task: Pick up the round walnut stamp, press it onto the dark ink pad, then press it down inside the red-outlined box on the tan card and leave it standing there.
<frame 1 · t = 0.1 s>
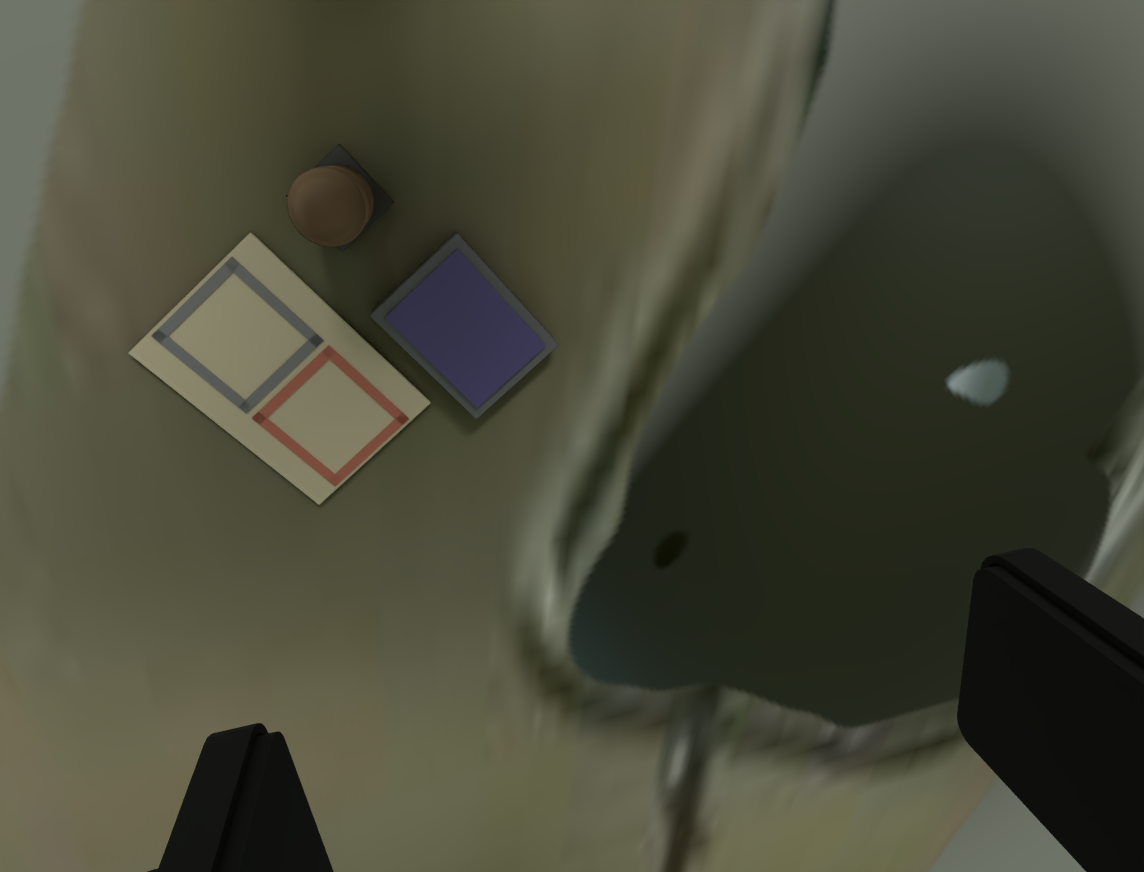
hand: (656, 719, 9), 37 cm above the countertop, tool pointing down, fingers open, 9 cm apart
stamp: (342, 198, 40), on the countertop
ink pad: (466, 326, 44), on the countertop
card sheet: (287, 378, 43), on the countertop
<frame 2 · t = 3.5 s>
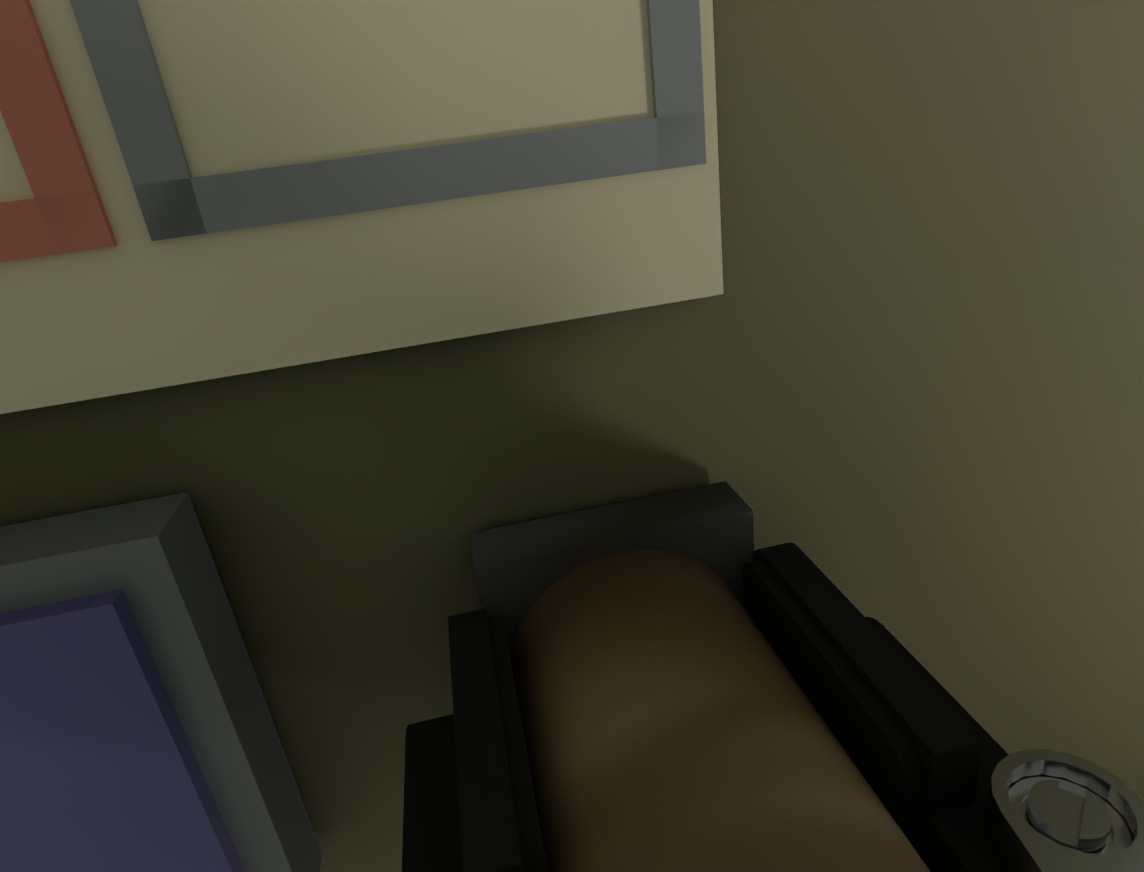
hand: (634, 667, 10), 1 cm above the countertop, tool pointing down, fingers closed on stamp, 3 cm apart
stamp: (613, 614, 12), on the countertop, touching gripper
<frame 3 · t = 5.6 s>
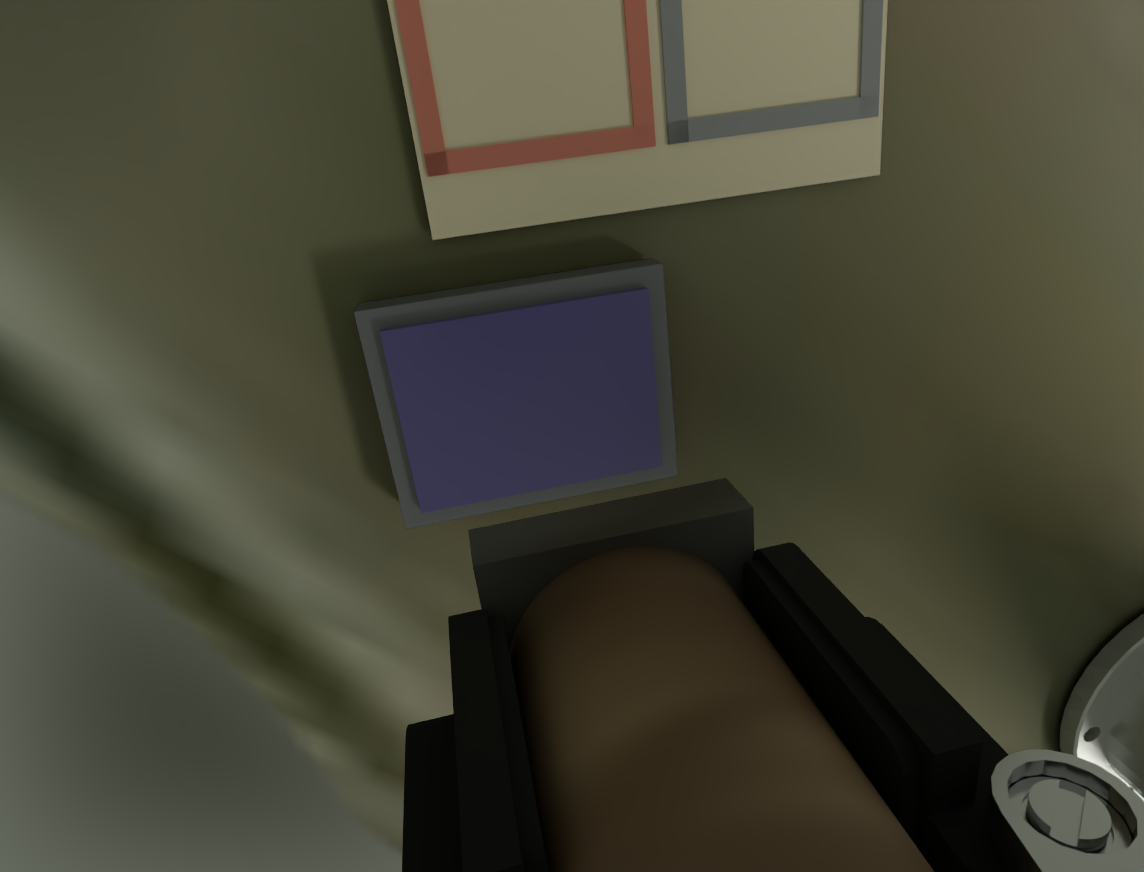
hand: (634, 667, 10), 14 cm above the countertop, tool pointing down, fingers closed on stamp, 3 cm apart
stamp: (613, 611, 12), point 12 cm above the countertop, touching gripper
ink pad: (525, 389, 23), on the countertop
card sheet: (650, 17, 20), on the countertop
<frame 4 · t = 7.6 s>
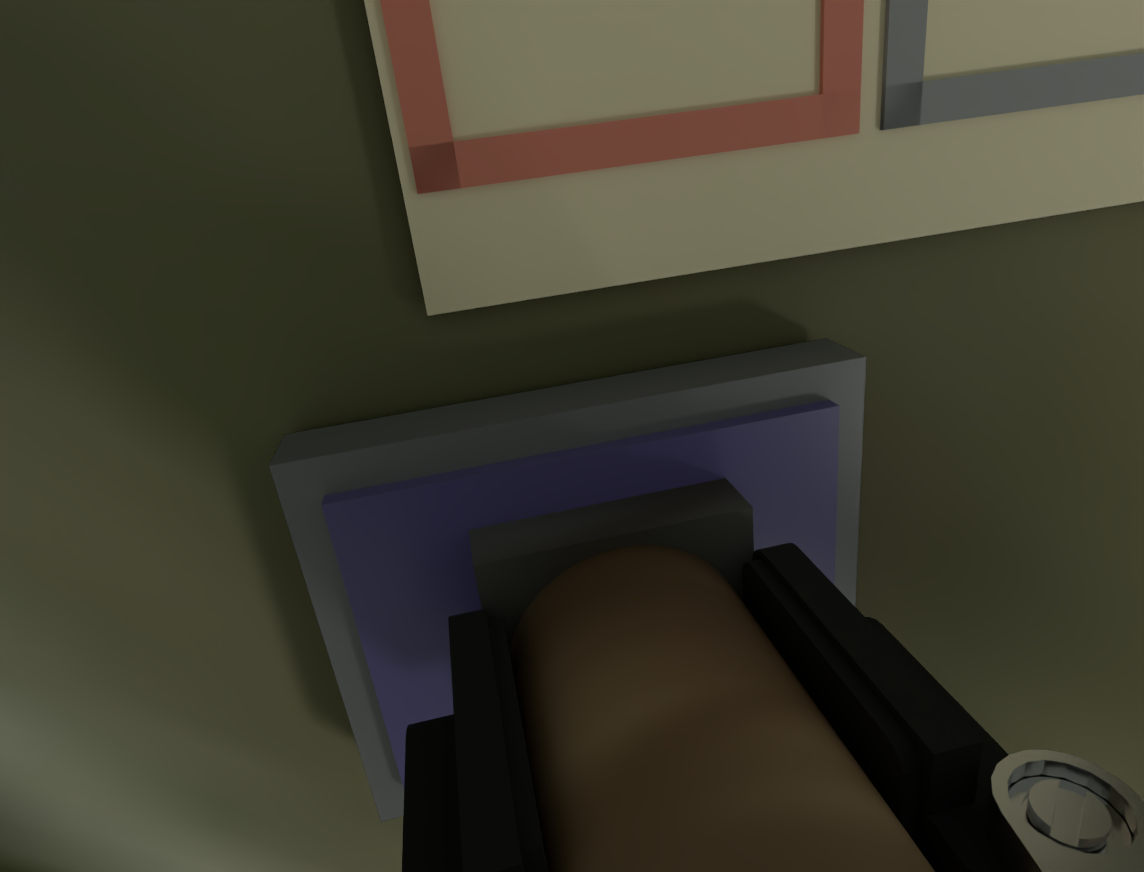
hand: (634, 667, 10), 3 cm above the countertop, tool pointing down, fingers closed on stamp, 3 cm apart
stamp: (613, 611, 12), point 1 cm above the countertop, touching gripper, ink pad
ink pad: (592, 565, 13), on the countertop
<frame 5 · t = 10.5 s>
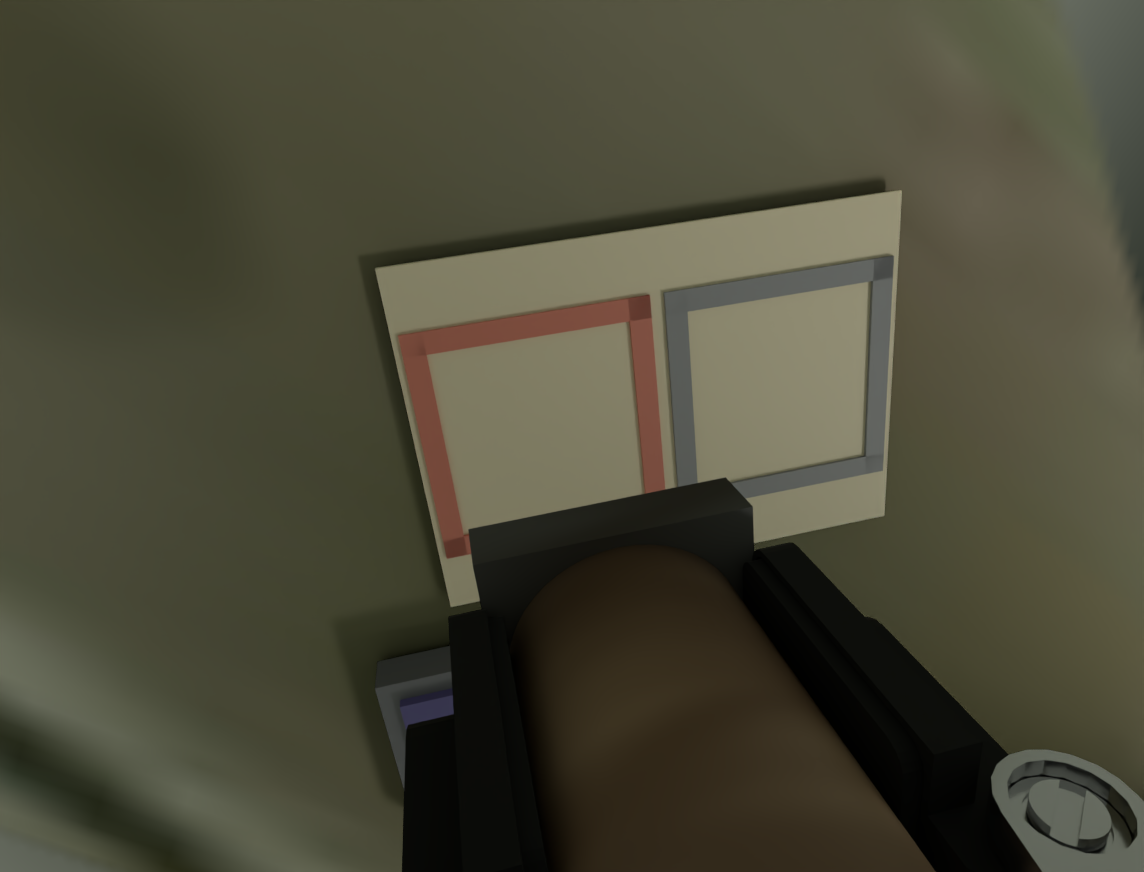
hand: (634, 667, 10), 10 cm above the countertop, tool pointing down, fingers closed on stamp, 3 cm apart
stamp: (612, 611, 12), point 9 cm above the countertop, touching gripper
ink pad: (539, 716, 24), on the countertop
card sheet: (662, 407, 20), on the countertop
when the fingers open (2 cm above the countertop, at t = 12.2 s): stamp stays where it is, resting on card sheet.
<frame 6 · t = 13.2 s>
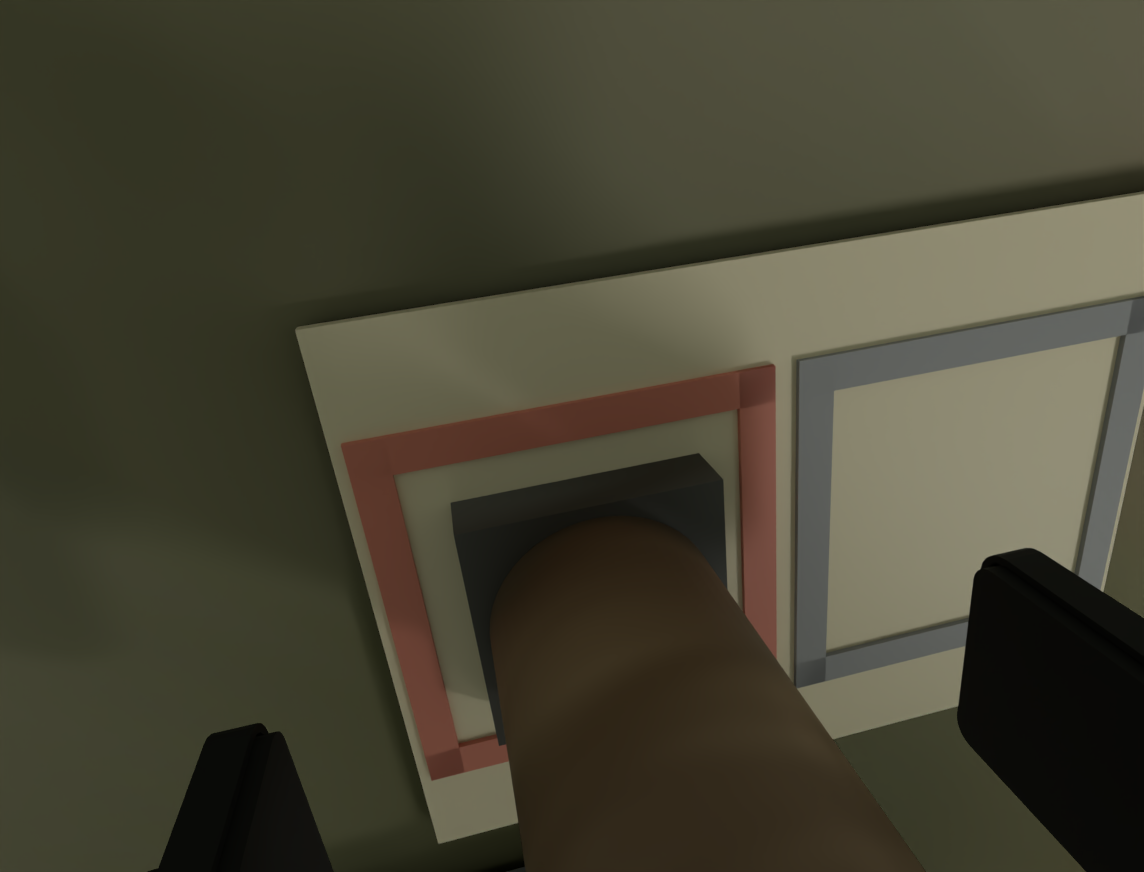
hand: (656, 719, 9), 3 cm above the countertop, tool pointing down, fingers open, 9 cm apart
stamp: (591, 583, 12), resting on card sheet
card sheet: (778, 536, 13), on the countertop
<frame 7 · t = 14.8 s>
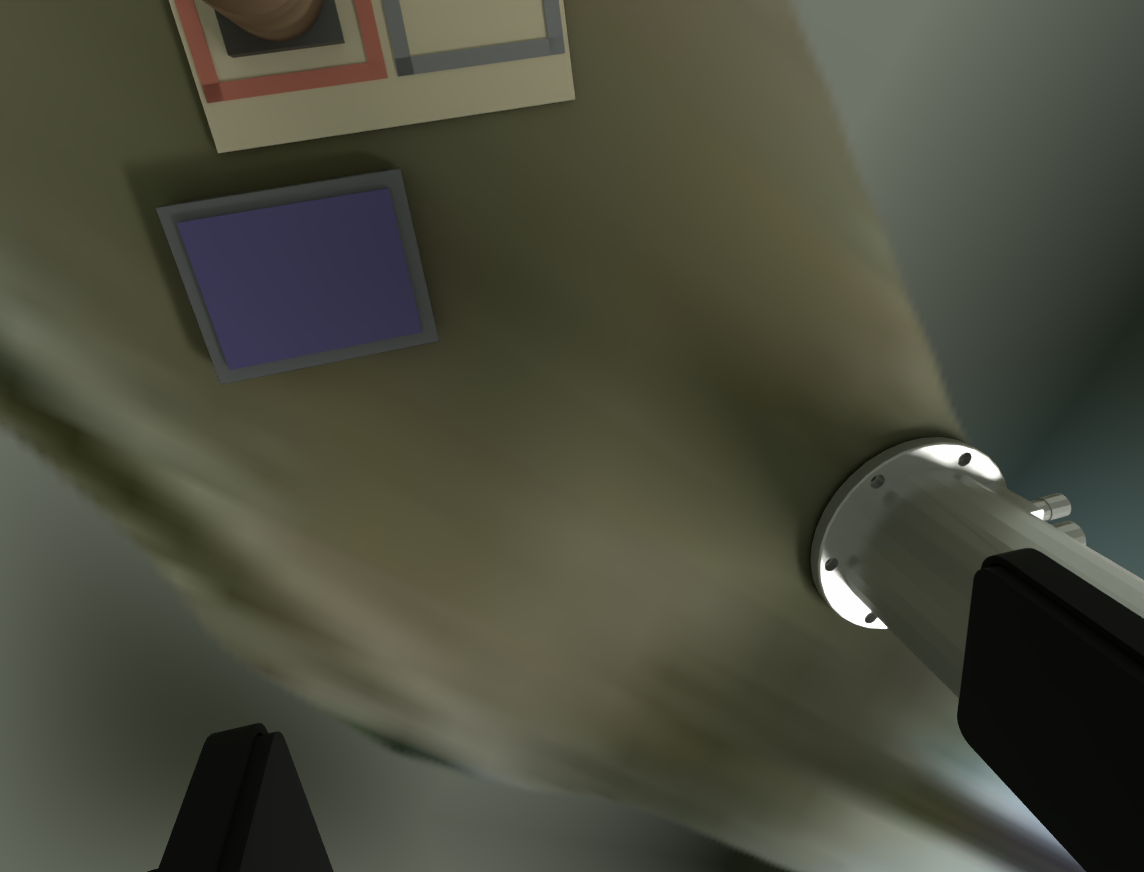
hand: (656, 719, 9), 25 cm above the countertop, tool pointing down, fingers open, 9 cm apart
ink pad: (311, 274, 30), on the countertop
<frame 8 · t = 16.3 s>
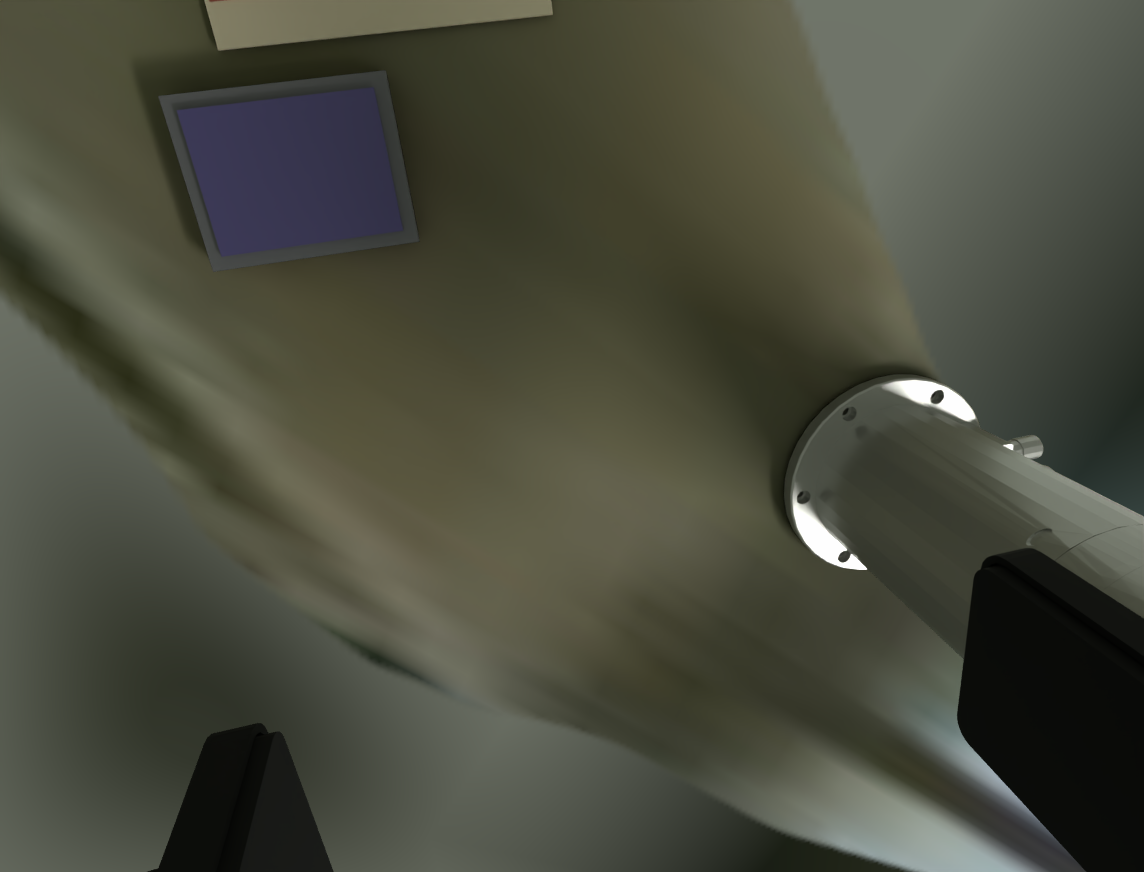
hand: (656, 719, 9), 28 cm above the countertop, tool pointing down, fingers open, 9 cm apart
ink pad: (301, 172, 32), on the countertop
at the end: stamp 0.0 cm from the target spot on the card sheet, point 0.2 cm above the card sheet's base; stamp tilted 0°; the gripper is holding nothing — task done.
